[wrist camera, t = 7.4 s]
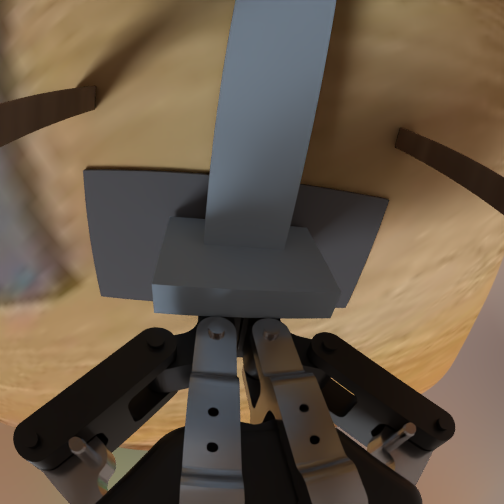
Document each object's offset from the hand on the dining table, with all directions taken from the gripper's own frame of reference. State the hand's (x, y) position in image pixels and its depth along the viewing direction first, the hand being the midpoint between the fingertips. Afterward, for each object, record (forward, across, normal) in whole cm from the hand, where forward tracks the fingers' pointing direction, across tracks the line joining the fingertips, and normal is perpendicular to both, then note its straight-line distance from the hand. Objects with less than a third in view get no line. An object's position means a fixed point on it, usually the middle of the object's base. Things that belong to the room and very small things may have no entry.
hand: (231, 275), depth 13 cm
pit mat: (+1, 0, -1) cm, 1 cm away
